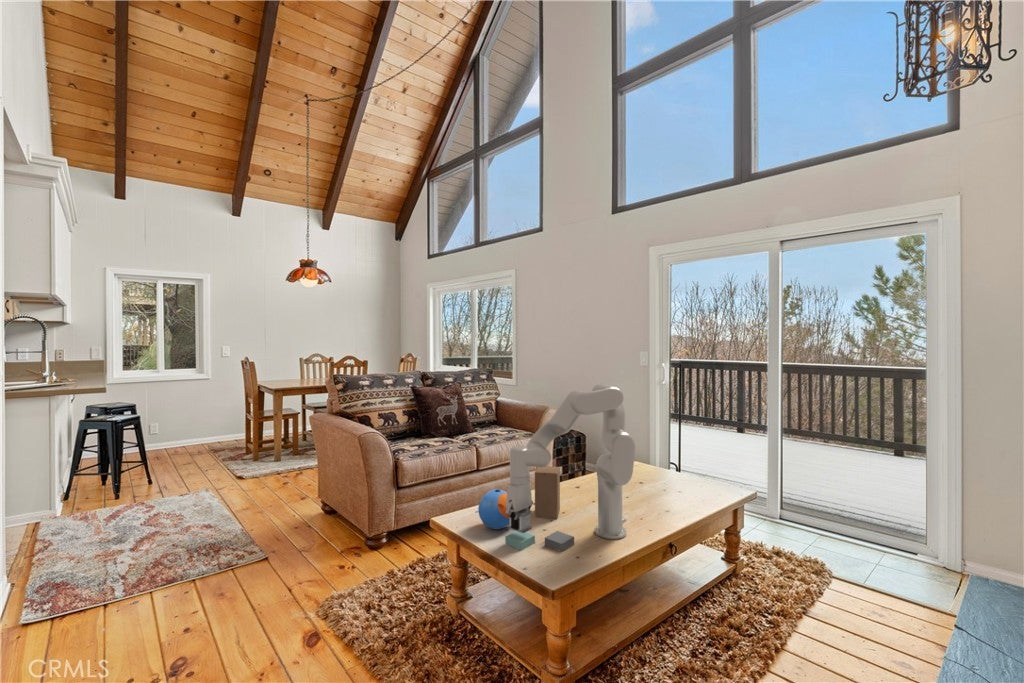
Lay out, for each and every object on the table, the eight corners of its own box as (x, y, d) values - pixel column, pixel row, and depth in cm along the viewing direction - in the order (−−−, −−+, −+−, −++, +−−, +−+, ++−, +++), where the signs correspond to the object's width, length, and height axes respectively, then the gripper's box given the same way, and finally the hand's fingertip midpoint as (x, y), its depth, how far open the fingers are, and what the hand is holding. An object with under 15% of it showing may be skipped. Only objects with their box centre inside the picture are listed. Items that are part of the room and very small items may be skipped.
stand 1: (519, 537, 185) (519, 529, 185) (534, 543, 180) (534, 535, 180) (505, 544, 179) (505, 536, 179) (521, 550, 174) (521, 542, 174)
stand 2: (557, 538, 184) (557, 530, 184) (574, 544, 179) (574, 536, 179) (544, 545, 178) (544, 537, 178) (561, 551, 173) (561, 543, 173)
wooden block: (557, 519, 203) (557, 473, 202) (534, 517, 205) (534, 472, 204) (559, 510, 213) (559, 466, 212) (538, 508, 215) (537, 465, 214)
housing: (516, 523, 184) (516, 505, 184) (531, 529, 179) (531, 510, 179) (507, 527, 180) (507, 509, 180) (522, 533, 175) (522, 514, 175)
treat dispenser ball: (495, 517, 206) (495, 482, 205) (523, 526, 196) (523, 489, 196) (470, 528, 194) (470, 491, 193) (499, 538, 184) (498, 500, 184)
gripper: (526, 472, 188) (526, 517, 188) (497, 482, 175) (497, 530, 176) (541, 476, 183) (541, 522, 183) (512, 487, 170) (512, 536, 171)
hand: (519, 526), depth 180 cm, fingers closed on housing, 5 cm apart
